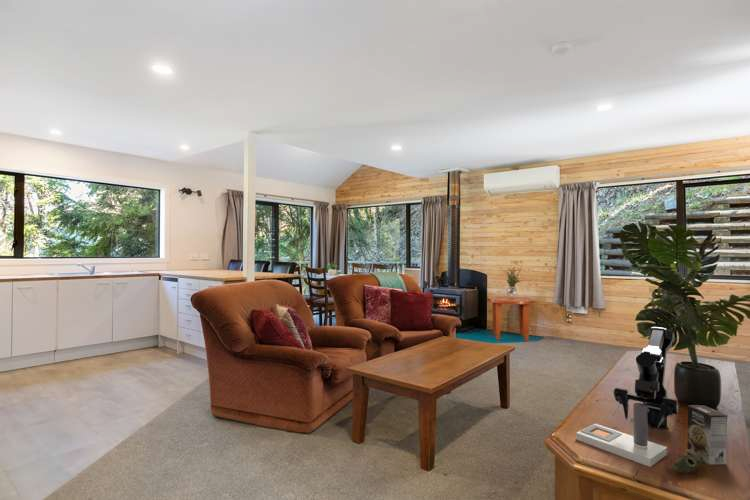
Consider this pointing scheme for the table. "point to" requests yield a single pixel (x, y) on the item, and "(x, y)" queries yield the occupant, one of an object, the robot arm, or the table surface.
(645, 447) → the grey cylinder
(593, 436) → the panel
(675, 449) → the table surface
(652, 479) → the table surface
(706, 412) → the coffee box
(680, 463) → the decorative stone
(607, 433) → the button
